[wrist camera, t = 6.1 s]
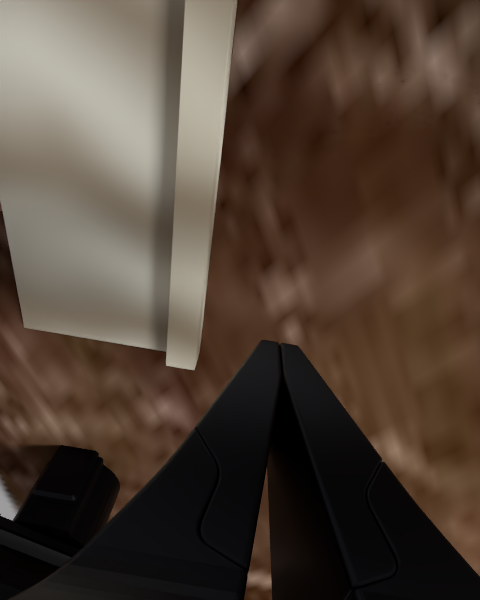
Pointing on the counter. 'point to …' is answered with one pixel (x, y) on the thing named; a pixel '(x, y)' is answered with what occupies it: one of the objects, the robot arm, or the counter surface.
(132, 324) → the board
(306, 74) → the counter surface
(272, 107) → the counter surface
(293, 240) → the counter surface
